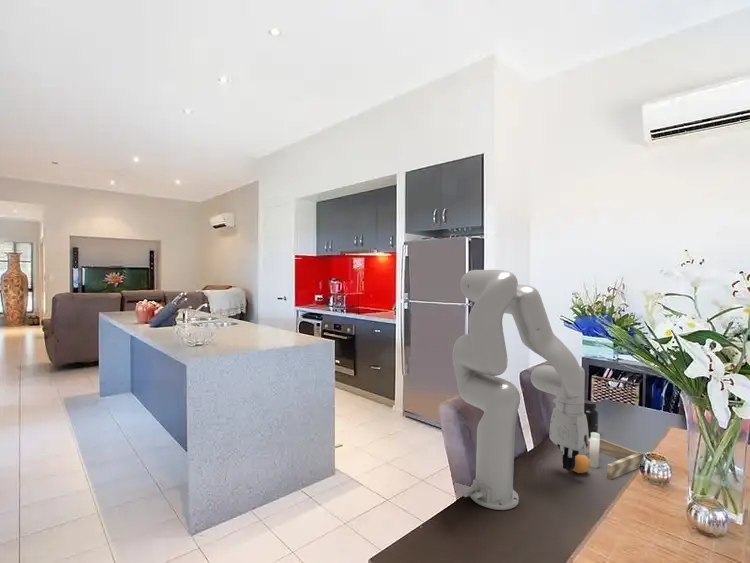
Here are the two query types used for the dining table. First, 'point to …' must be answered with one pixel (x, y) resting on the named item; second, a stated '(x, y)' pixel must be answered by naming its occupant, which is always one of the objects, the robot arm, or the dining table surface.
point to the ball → (581, 464)
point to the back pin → (596, 436)
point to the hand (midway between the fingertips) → (568, 468)
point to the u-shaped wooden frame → (627, 458)
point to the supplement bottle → (591, 416)
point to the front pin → (594, 452)
